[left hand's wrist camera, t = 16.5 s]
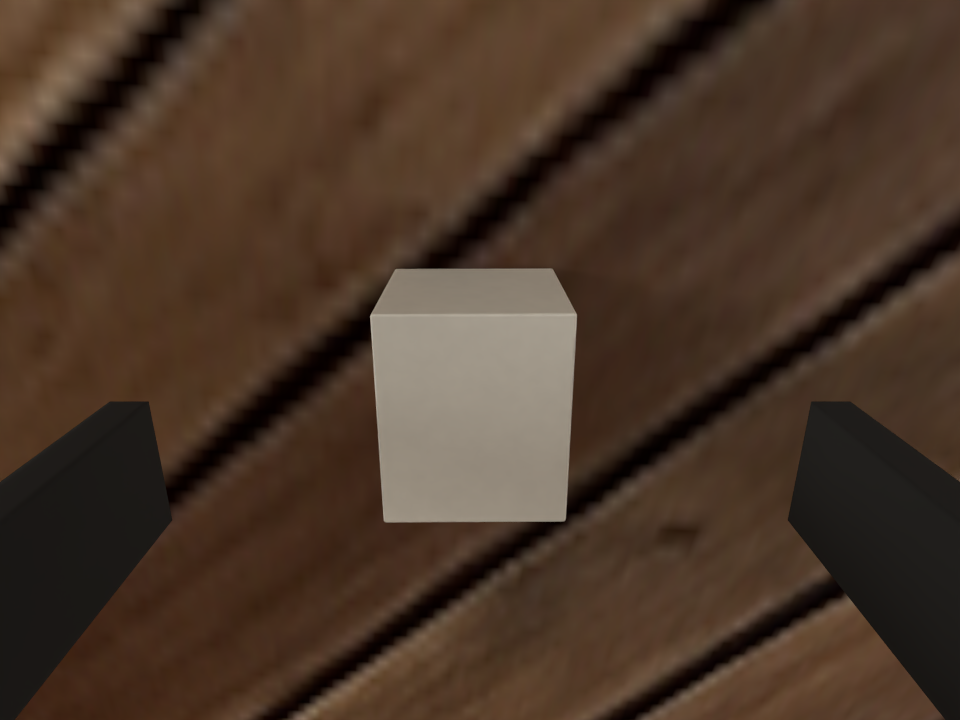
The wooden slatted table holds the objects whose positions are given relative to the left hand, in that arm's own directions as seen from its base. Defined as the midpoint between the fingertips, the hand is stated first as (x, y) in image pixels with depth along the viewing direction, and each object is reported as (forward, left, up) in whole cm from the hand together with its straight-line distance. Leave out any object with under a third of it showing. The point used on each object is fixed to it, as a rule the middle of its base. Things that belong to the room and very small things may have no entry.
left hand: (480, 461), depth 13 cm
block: (0, 0, -6) cm, 6 cm away
